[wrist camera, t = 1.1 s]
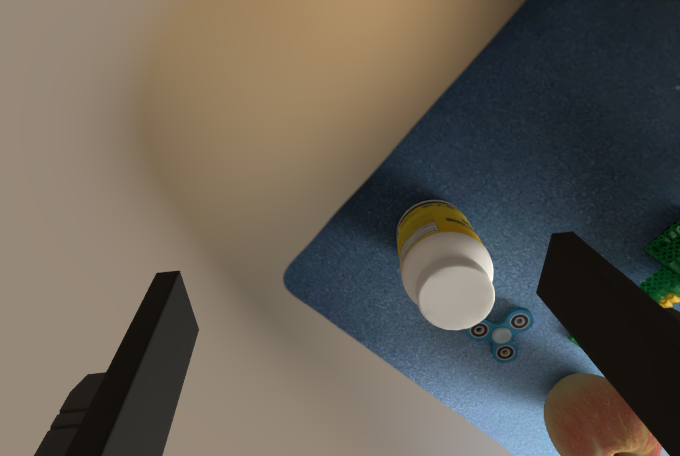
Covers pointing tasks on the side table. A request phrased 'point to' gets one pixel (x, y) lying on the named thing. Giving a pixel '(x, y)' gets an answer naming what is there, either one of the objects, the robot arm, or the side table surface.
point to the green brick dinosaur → (663, 269)
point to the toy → (502, 333)
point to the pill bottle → (444, 265)
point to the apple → (594, 420)
